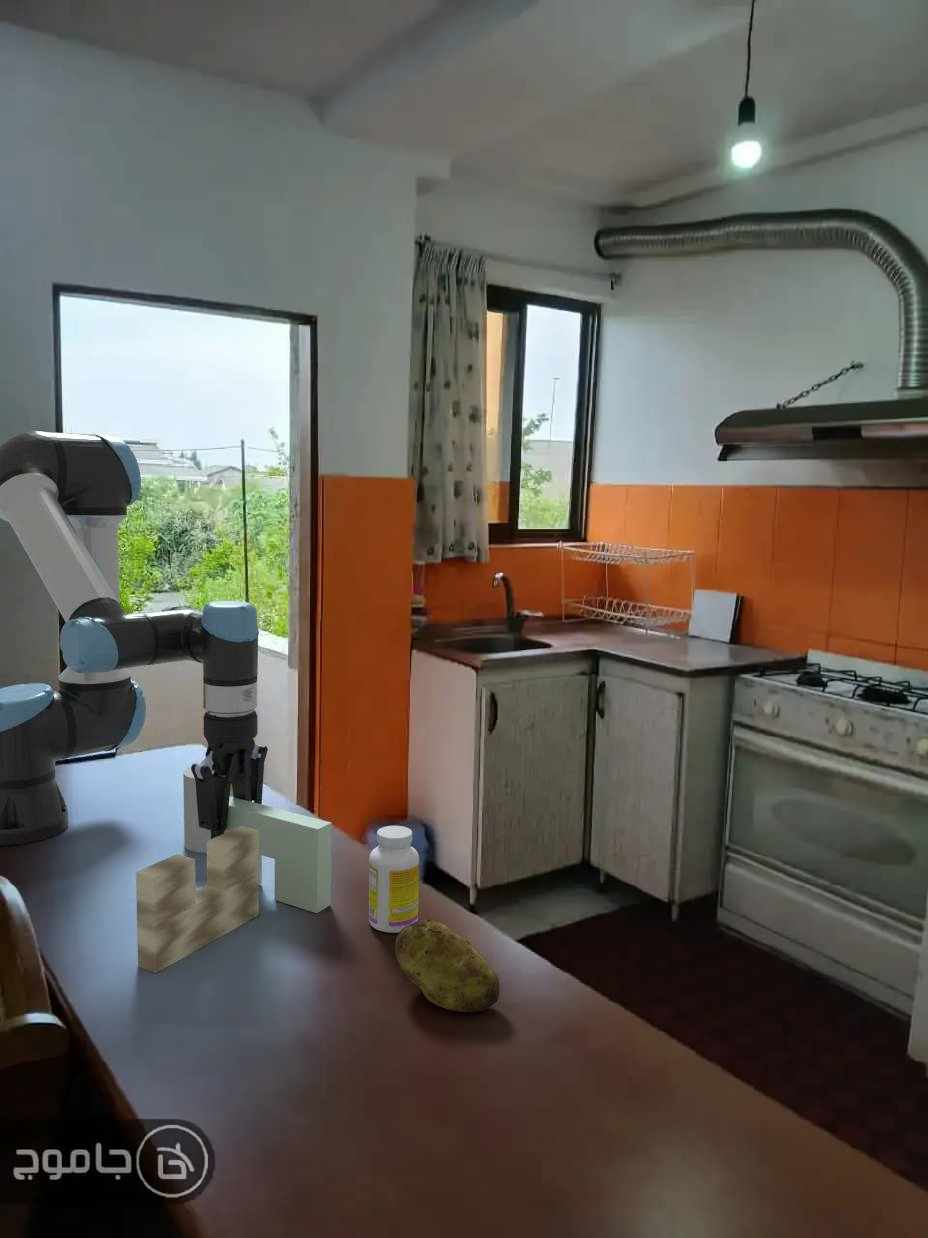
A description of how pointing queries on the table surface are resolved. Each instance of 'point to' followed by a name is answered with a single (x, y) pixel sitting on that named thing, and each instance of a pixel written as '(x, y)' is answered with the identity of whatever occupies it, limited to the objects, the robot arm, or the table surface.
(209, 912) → the notched wooden block
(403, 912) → the supplement bottle
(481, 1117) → the table surface
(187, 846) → the grey cylinder
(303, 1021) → the table surface
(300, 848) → the sage slat
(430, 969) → the potato
